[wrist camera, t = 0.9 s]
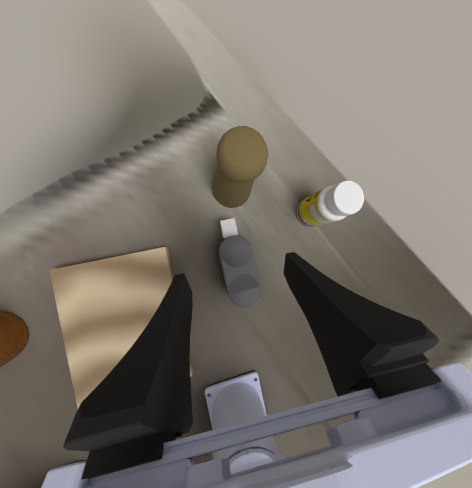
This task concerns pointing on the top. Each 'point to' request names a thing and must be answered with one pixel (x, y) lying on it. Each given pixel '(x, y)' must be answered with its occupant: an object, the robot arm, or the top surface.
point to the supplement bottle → (331, 204)
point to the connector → (238, 266)
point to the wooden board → (107, 310)
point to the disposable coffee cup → (11, 336)
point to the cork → (238, 165)
